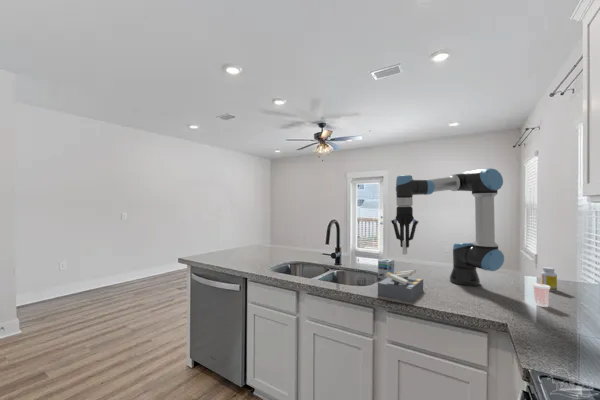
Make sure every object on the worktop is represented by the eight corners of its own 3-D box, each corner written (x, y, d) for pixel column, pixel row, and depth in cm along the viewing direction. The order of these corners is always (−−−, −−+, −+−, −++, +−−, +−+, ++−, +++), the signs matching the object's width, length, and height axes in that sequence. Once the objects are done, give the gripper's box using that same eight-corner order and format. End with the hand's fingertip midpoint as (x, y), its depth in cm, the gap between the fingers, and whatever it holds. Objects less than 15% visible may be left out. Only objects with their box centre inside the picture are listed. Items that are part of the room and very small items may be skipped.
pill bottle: (560, 291, 148) (560, 269, 149) (547, 291, 149) (547, 269, 149) (549, 287, 155) (549, 266, 155) (537, 287, 155) (537, 266, 155)
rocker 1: (407, 283, 137) (408, 280, 137) (405, 284, 134) (406, 281, 134) (387, 274, 143) (388, 271, 143) (385, 276, 140) (386, 273, 140)
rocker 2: (412, 274, 143) (411, 271, 143) (410, 276, 140) (409, 273, 140) (393, 277, 149) (392, 274, 149) (391, 278, 146) (390, 275, 146)
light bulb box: (388, 280, 168) (388, 262, 168) (377, 278, 172) (377, 260, 172) (394, 276, 177) (394, 259, 177) (384, 274, 181) (384, 258, 181)
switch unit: (423, 290, 148) (423, 276, 148) (411, 301, 131) (411, 286, 131) (392, 285, 158) (393, 272, 158) (377, 294, 140) (377, 280, 140)
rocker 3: (416, 272, 148) (415, 269, 149) (414, 273, 145) (413, 270, 146) (397, 274, 154) (397, 271, 154) (395, 275, 151) (394, 273, 152)
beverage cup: (538, 307, 125) (538, 275, 125) (529, 302, 131) (529, 272, 131) (554, 308, 124) (553, 276, 124) (544, 303, 130) (544, 272, 131)
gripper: (388, 206, 141) (389, 253, 140) (416, 206, 133) (416, 256, 133) (393, 206, 147) (394, 251, 147) (420, 206, 139) (420, 254, 139)
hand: (404, 253), depth 140 cm, fingers closed
